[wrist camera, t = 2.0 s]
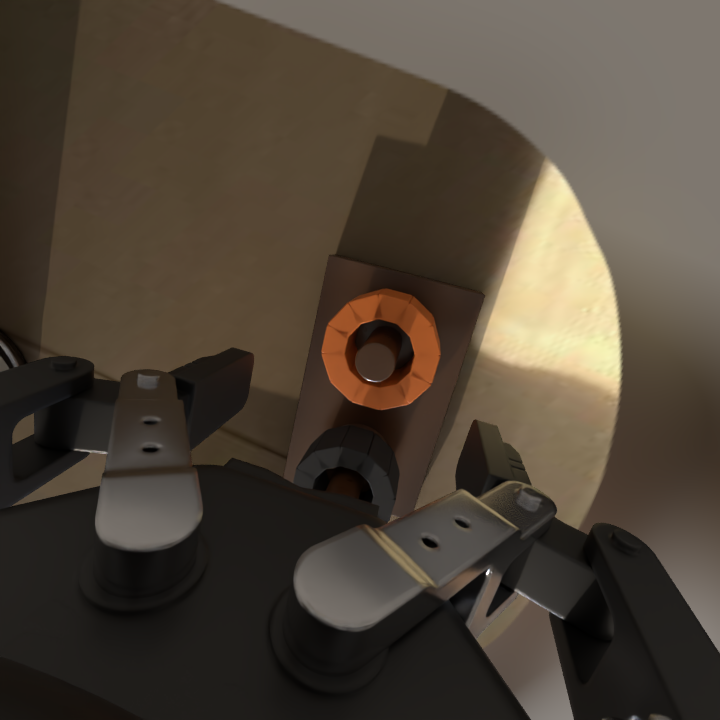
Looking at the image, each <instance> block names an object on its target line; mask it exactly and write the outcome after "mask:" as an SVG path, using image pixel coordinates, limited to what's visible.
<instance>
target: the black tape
mask: <svg viewBox="0 0 720 720" xmlns="http://www.w3.org/2000/svg"><path fill="white" fill-rule="evenodd" d="M341 466H342V467H345V468H348V469H351V470H355V471H358V472H359V473H360V474H361V475H362V476H363V477H364V478H365V479H366V480H367V481H368V482H369V484H370V487H371V488H370V489H369V490H368V491H367V492H361V493H360V496H359V499H360V500H363V501H366V502H369V503H372V504H375V505H378V506H380V507H379V511H378V516H377V517H378V518H380V519H382V520H383V521H385V522H386V523H388V521H389V520H390V517H391V514H392V510H393V507H394V504H395V501H396V495H397V489H398V482H399V475H400V473H399V472H400V471H399V468H398V464H397V461H396V457H395V454H394V451H392V448H391V447H390V446H389V445H388V444H387V443H386V442H385V441H383V440H382V439H381V438H380V437H379V436H378V435H377V434H376V433H375V434H374V432H373V431H369V430H366V429H363V428H359V427H356V426H353V425H351V426H350V425H347V426H342V427H337V428H332V429H328V430H326V431H325V432H323V433H322V434H321V435H320V436H319V437H318V438H317V439H316V440H315V441H314V442H313V443H312V444H311V445H310V447H309V448H308V450H307V451H306V453H305V455H304V456H303V458H302V459H301V461H300V463H299V464H298V466H297V468H296V471H295V476H294V480H293V483H294V484H296V485H297V486H300V487H303V488H308V489H315V490H321V491H326V489H327V487H328V485H329V482H330V480H329V479H328V476H327V473H326V469H329V468H335V467H341Z"/></svg>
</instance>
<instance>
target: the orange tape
mask: <svg viewBox="0 0 720 720" xmlns="http://www.w3.org/2000/svg"><path fill="white" fill-rule="evenodd" d="M378 319H380V320H383V321H387V322H391V323H394V324H397V325H398V326H399V327H400V328H401V329H402V330H403V331H404V332H405V333H406V334H407V335H408V336H409V337H410V339H411V343H412V346H413V350H414V355H413V358H412V359H411V360H410V361H409V362H408V363H406V364H405V365H404V366H403V367H402V368H401V369H397V370H394V371H393V373H392V374H391V375H390V377H388V378H387V379H385V380H383V381H379V382H372V381H369V380H366V379H365V378H363V377H362V376H361V375H360V374H359V373H358V371H357V369H356V366H355V357H356V354H357V352H358V350H357V347H356V343H355V340H356V336H357V332H358V328H359V326H360V325H361V324H363V323H367V322H370V321H374V320H378ZM440 355H441V351H440V340H439V336H438V332H437V328H436V324H435V320H434V317H432V314H431V313H430V312H429V311H428V310H427V309H426V308H425V307H424V306H423V305H422V304H421V303H420V302H419V301H418V300H417V299H416V298H415V297H414V296H413V297H412V295H410V294H406V293H402V292H398V291H394V290H391V289H387V288H386V289H380V290H377V291H373V292H370V293H366V294H363V295H359V296H358V297H356V298H354V299H353V300H351V301H349V302H348V303H346V304H345V306H344V307H343V308H342V309H341V310H340V311H339V312H338V313H337V314H336V315H335V316H334V317H333V318H332V319H331V320H330V322H329V323H328V325H327V328H326V332H325V337H324V342H323V346H322V358H323V361H324V364H325V367H326V370H327V373H328V376H329V379H330V380H331V383H332V384H333V385H334V386H335V387H336V388H337V389H338V390H339V391H340V392H341V393H343V394H344V395H345V396H346V397H347V398H348V399H349V400H350V401H352V402H353V403H356V404H360V405H363V406H367V407H370V408H373V409H377V410H385V409H389V408H394V407H399V406H404V405H408V404H410V403H412V402H413V401H414V400H415V399H416V398H417V397H418V396H420V395H421V394H422V393H423V392H424V391H425V390H426V389H427V388H429V387H430V386H431V383H432V382H433V379H434V376H435V373H436V370H437V366H438V363H439V360H440Z"/></svg>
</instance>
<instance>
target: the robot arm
mask: <svg viewBox="0 0 720 720" xmlns="http://www.w3.org/2000/svg"><path fill="white" fill-rule="evenodd" d="M253 364H254V355H253V353H250V352H247V351H243V350H240V349H237V348H230V349H228V350H226V351H224V352H221V353H219V354H217V355H215V356H208V357H202V358H199V359H197V360H195V361H193V362H192V363H188V364H186V365H185V366H182V367H179V368H177V369H175V370H173V371H171V372H168V373H166V372H163V371H158V370H150V369H143V370H134V371H130V372H127V373H125V374H123V375H122V377H121V381H120V382H116V381H109V380H102V379H95V378H94V364H93V363H92V362H90V361H88V360H85V359H82V358H77V357H69V356H58V357H49V358H44V359H40V360H37V361H34V362H31V363H27V364H26V363H25V361H24V359H23V357H22V355H21V354H20V352H19V350H18V349H17V348H16V346H15V345H14V344H13V343H12V342H11V340H10V339H9V338H8V337H7V336H6V335H4V334H3V333H2V332H1V331H0V720H531V719H530V718H529V716H528V715H527V713H526V712H525V710H524V709H523V707H522V706H521V705H520V703H519V702H518V700H517V699H516V697H515V696H514V694H513V693H512V691H511V690H510V688H509V687H508V685H507V684H506V683H505V681H504V680H503V678H502V677H501V675H500V674H499V672H498V671H497V669H496V668H495V667H494V665H493V664H492V662H491V661H490V659H489V658H488V656H487V655H486V653H485V652H484V651H483V649H482V648H481V646H480V645H479V643H478V642H477V640H476V639H477V638H478V636H479V635H480V634H481V633H482V632H483V631H484V630H485V629H486V628H487V627H488V626H489V625H490V624H491V623H492V622H493V621H494V620H495V619H496V618H497V617H498V616H499V615H500V614H501V613H502V612H503V611H504V610H505V609H506V608H507V607H508V606H509V605H510V604H511V603H512V602H513V601H514V600H515V599H516V598H517V596H518V594H521V595H523V596H524V597H526V598H528V599H529V600H531V601H533V602H534V603H536V604H538V605H539V606H541V607H543V608H544V609H546V610H548V611H549V617H550V622H551V626H552V630H553V634H554V639H555V643H556V647H557V651H558V655H559V659H560V663H561V667H562V671H563V676H564V680H565V684H566V688H567V692H568V696H569V700H570V705H571V709H572V712H573V717H574V720H720V653H719V652H718V650H717V648H716V647H715V646H714V644H713V642H712V641H711V639H710V638H709V636H708V635H707V633H706V632H705V630H704V629H703V627H702V626H701V624H700V622H699V621H698V619H697V618H696V616H695V615H694V613H693V612H692V610H691V609H690V607H689V605H688V604H687V602H686V601H685V599H684V598H683V596H682V595H681V593H680V592H679V590H678V589H677V587H676V585H675V584H674V582H673V581H672V579H671V578H670V576H669V575H668V573H667V572H666V570H665V569H664V567H663V566H662V564H661V562H660V561H659V560H658V558H657V557H656V555H655V553H654V552H653V551H652V550H651V549H650V548H649V547H648V546H647V545H646V544H645V543H644V542H642V541H641V540H640V539H638V538H637V537H635V536H634V535H632V534H631V533H629V532H627V531H625V530H623V529H621V528H619V527H617V526H614V525H611V524H606V523H596V524H594V525H593V527H592V528H591V530H590V532H589V535H587V534H585V533H583V532H581V531H579V530H577V529H575V528H573V527H571V526H569V525H567V524H565V523H563V522H561V521H560V520H558V519H557V518H555V515H556V513H557V508H556V505H555V504H554V502H553V501H552V500H551V499H550V498H549V497H548V496H547V495H546V494H544V493H543V492H541V491H540V490H538V489H536V488H535V487H533V486H532V485H531V482H530V480H529V477H528V475H527V472H526V471H525V467H524V465H523V464H522V460H521V458H520V455H519V453H518V452H517V451H516V450H515V449H514V448H513V447H512V446H511V445H510V444H507V443H504V442H503V441H502V438H501V435H500V433H499V430H498V427H497V426H496V425H493V424H489V423H486V422H482V421H479V420H474V421H473V423H472V425H471V427H470V430H469V433H468V436H467V438H466V441H465V444H464V447H463V450H462V452H461V455H460V458H459V461H458V464H457V469H456V476H455V478H456V491H455V492H452V493H450V494H448V495H446V496H444V497H442V498H440V499H438V500H436V501H434V502H432V503H429V504H427V505H425V506H423V507H421V508H419V509H417V510H415V511H413V512H411V513H408V514H406V515H404V516H402V517H400V518H398V519H396V520H394V521H392V522H390V523H386V522H385V521H383V520H382V519H380V518H378V517H377V516H378V511H379V507H380V506H378V505H375V504H372V503H369V502H366V501H363V500H360V499H357V498H354V497H351V496H347V495H344V494H340V493H334V492H328V491H321V490H315V489H308V488H303V487H300V486H297V485H296V484H294V483H292V482H290V481H288V480H286V479H284V478H283V477H281V476H279V475H277V474H275V473H273V472H272V471H270V470H268V469H265V468H262V467H259V466H256V465H253V464H250V463H247V462H244V461H241V460H238V459H235V458H231V459H230V460H229V461H228V462H227V463H226V464H225V465H224V466H219V465H192V459H191V452H190V451H191V450H192V449H193V448H195V447H196V446H197V445H198V444H200V443H201V442H202V441H203V440H205V439H206V438H207V437H208V436H209V435H211V434H212V433H213V432H214V431H216V430H217V429H218V428H219V427H221V426H222V425H223V424H224V423H226V422H227V421H228V420H229V419H230V418H232V417H233V416H234V415H235V414H237V413H238V412H239V411H240V410H241V409H242V408H243V407H244V405H245V403H246V401H247V398H248V394H249V388H250V382H251V376H252V370H253ZM33 413H34V434H33V435H31V436H29V437H27V438H25V439H23V440H21V441H19V442H17V443H15V444H13V445H12V433H13V430H14V428H15V426H16V425H17V423H18V422H19V421H20V420H21V419H23V418H24V417H26V416H28V415H30V414H33ZM90 452H92V453H101V454H107V458H106V465H105V471H104V473H103V474H102V479H101V485H100V486H98V487H93V488H89V489H85V490H80V491H76V492H72V493H67V494H63V495H59V496H55V497H50V498H46V499H42V500H37V501H33V502H29V503H24V504H20V505H16V506H12V505H13V504H15V503H16V502H18V501H19V500H21V499H23V498H24V497H26V496H27V495H29V494H30V493H32V492H33V491H35V490H36V489H38V488H39V487H41V486H43V485H44V484H46V483H47V482H49V481H50V480H52V479H53V478H55V477H56V476H58V475H59V474H61V473H62V472H64V471H66V470H67V469H69V468H70V467H72V466H73V465H75V464H76V463H78V462H79V461H81V460H82V459H84V458H85V457H87V456H88V455H89V454H90ZM10 506H11V507H10Z"/></svg>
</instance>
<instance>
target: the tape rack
mask: <svg viewBox="0 0 720 720" xmlns="http://www.w3.org/2000/svg"><path fill="white" fill-rule="evenodd" d="M386 288H387V289H391V290H394V291H398V292H402V293H406V294H410V295H412V297H413V296H414V297H415V298H416V299H417V300H418V301H419V302H420V303H421V304H422V305H423V306H424V307H425V308H426V309H427V310H428V311H429V312H430V313H431V314H432V317H434V320H435V324H436V328H437V332H438V336H439V340H440V351H441V355H440V360H439V363H438V366H437V370H436V373H435V376H434V379H433V382H432V383H431V386H430V387H429V388H427V389H426V390H425V391H424V392H423V393H422V394H421V395H420V396H418V397H417V398H416V399H415V400H414V401H413V402H412V403H410V404H408V405H404V406H399V407H394V408H389V409H385V410H377V409H373V408H370V407H367V406H363V405H360V404H356V403H353V402H352V401H350V400H349V399H348V398H347V397H346V396H345V395H344V394H343V393H341V392H340V391H339V390H338V389H337V388H336V387H335V386H334V385H333V384H332V383H331V380H330V379H329V376H328V373H327V370H326V367H325V364H324V361H323V358H322V346H323V342H324V337H325V332H326V328H327V325H328V323H329V322H330V320H331V319H332V318H333V317H334V316H335V315H336V314H337V313H338V312H339V311H340V310H341V309H342V308H343V307H344V306H345V304H346V303H348V302H349V301H351V300H353V299H354V298H356V297H358V296H359V295H363V294H366V293H370V292H373V291H377V290H380V289H386ZM484 297H485V294H483V293H482V292H479V291H475V290H472V289H468V288H464V287H460V286H456V285H452V284H448V283H444V282H440V281H436V280H433V279H429V278H425V277H421V276H417V275H413V274H409V273H405V272H401V271H398V270H394V269H390V268H386V267H382V266H378V265H374V264H370V263H366V262H362V261H359V260H355V259H351V258H347V257H343V256H339V255H329V258H328V262H327V267H326V272H325V277H324V282H323V287H322V291H321V296H320V301H319V306H318V311H317V316H316V321H315V325H314V330H313V335H312V340H311V345H310V350H309V354H308V359H307V364H306V369H305V374H304V379H303V383H302V388H301V393H300V398H299V403H298V408H297V412H296V417H295V422H294V427H293V432H292V437H291V441H290V446H289V451H288V456H287V461H286V466H285V470H284V475H283V478H284V479H286V480H288V481H290V482H292V483H293V480H294V476H295V471H296V468H297V466H298V464H299V463H300V461H301V459H302V458H303V456H304V455H305V453H306V451H307V450H308V448H309V447H310V445H311V444H312V443H313V442H314V441H315V440H316V439H317V438H318V437H319V436H320V435H321V434H322V433H323V432H325V431H326V430H328V429H332V428H337V427H342V426H347V425H350V426H351V425H353V426H356V427H359V428H363V429H366V430H369V431H373V432H374V434H375V433H376V434H377V435H378V436H379V437H380V438H381V439H382V440H383V441H385V442H386V443H387V444H388V445H389V446H390V447H391V448H392V451H394V454H395V457H396V461H397V464H398V468H399V471H400V472H399V473H400V475H399V482H398V489H397V495H396V501H395V504H394V507H393V510H392V514H391V515H394V516H397V517H402V516H404V515H406V514H408V513H411V512H413V511H414V508H415V505H416V502H417V499H418V496H419V493H420V490H421V487H422V484H423V481H424V478H425V475H426V472H427V469H428V466H429V463H430V460H431V457H432V454H433V451H434V448H435V445H436V442H437V439H438V436H439V433H440V430H441V427H442V424H443V421H444V418H445V415H446V412H447V409H448V406H449V403H450V400H451V397H452V394H453V391H454V388H455V385H456V382H457V379H458V376H459V373H460V370H461V367H462V364H463V361H464V358H465V355H466V352H467V349H468V346H469V343H470V340H471V337H472V334H473V331H474V328H475V325H476V322H477V319H478V316H479V312H480V309H481V306H482V303H483V300H484ZM355 343H356V347H357V350H358V352H357V354H356V357H355V366H356V369H357V371H358V373H359V374H360V375H361V376H362V377H363V378H365V379H366V380H369V381H372V382H379V381H383V380H385V379H387V378H388V377H390V375H391V374H392V373H393V371H394V370H397V369H401V368H402V367H403V366H404V365H405V364H406V363H408V362H409V361H410V360H411V359H412V358H413V355H414V350H413V346H412V343H411V339H410V337H409V336H408V335H407V334H406V333H405V332H404V331H403V330H402V329H401V328H400V327H399V326H398V325H397V324H394V323H391V322H387V321H383V320H380V319H378V320H374V321H370V322H367V323H363V324H361V325H360V326H359V328H358V332H357V336H356V340H355ZM326 473H327V476H328V479H329V480H330V482H329V485H328V487H327V489H326V491H328V492H334V493H340V494H344V495H347V496H351V497H354V498H357V499H359V496H360V493H361V492H367V491H368V490H369V489H370V488H371V487H370V484H369V482H368V481H367V480H366V479H365V478H364V477H363V476H362V475H361V474H360V473H359V472H358V471H355V470H351V469H348V468H345V467H342V466H341V467H335V468H329V469H326Z"/></svg>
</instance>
